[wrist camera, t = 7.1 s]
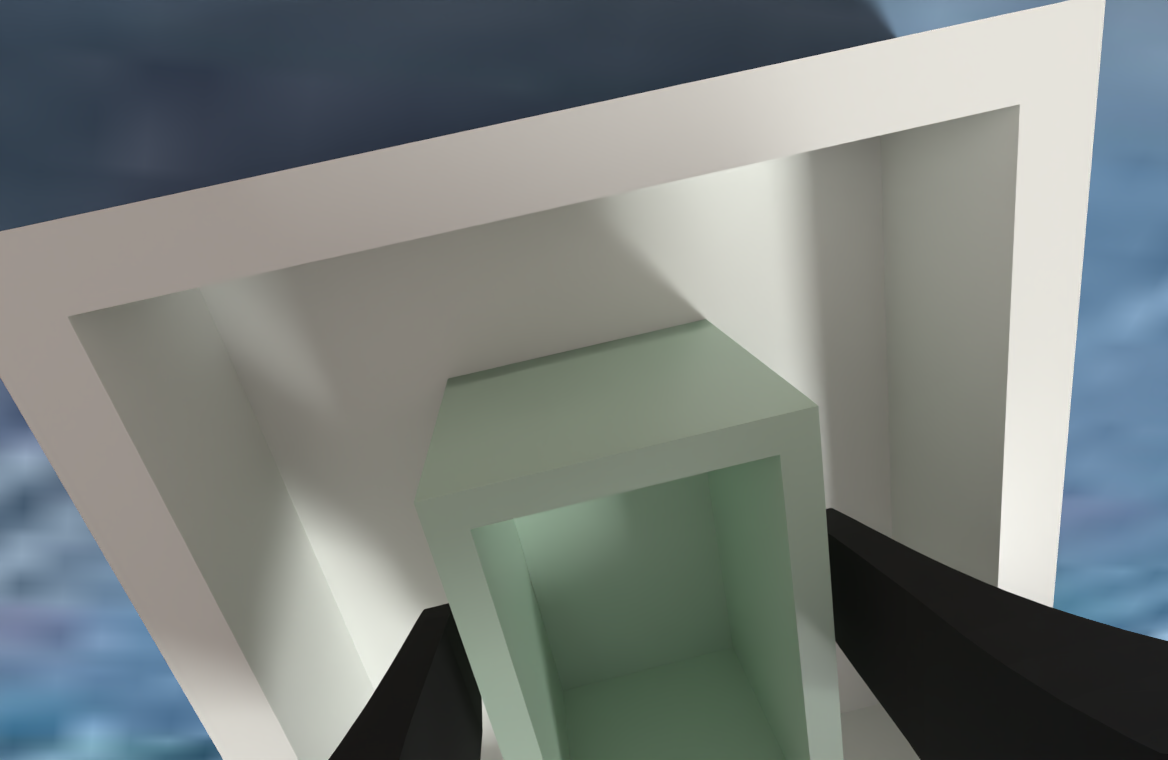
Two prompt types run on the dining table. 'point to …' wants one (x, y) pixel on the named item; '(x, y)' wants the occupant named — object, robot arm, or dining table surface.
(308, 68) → the dining table surface
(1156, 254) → the dining table surface
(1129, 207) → the dining table surface
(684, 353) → the green crate
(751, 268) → the white crate
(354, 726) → the robot arm
